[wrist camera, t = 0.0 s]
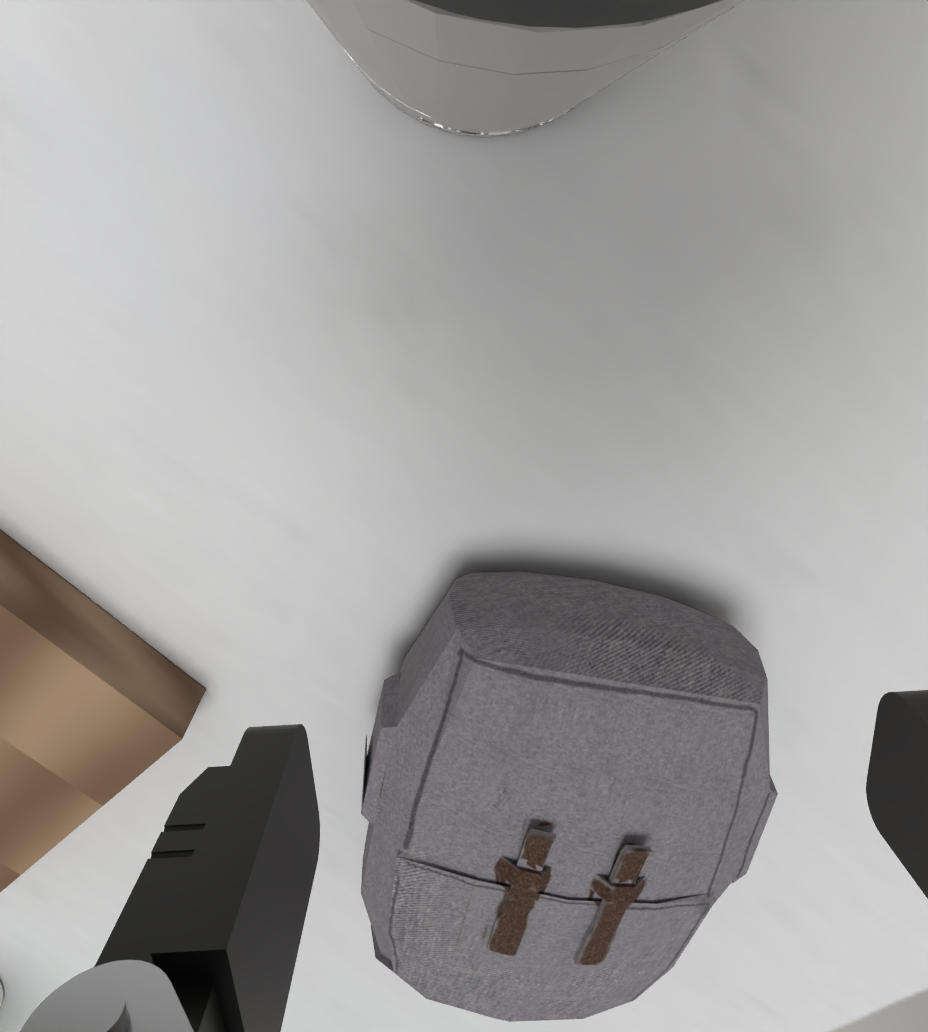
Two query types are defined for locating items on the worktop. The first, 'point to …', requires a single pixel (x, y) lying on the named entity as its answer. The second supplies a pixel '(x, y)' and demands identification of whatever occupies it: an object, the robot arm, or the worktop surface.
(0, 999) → the beer glass
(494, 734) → the grey rounded bag
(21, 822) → the socket block
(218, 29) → the worktop surface
